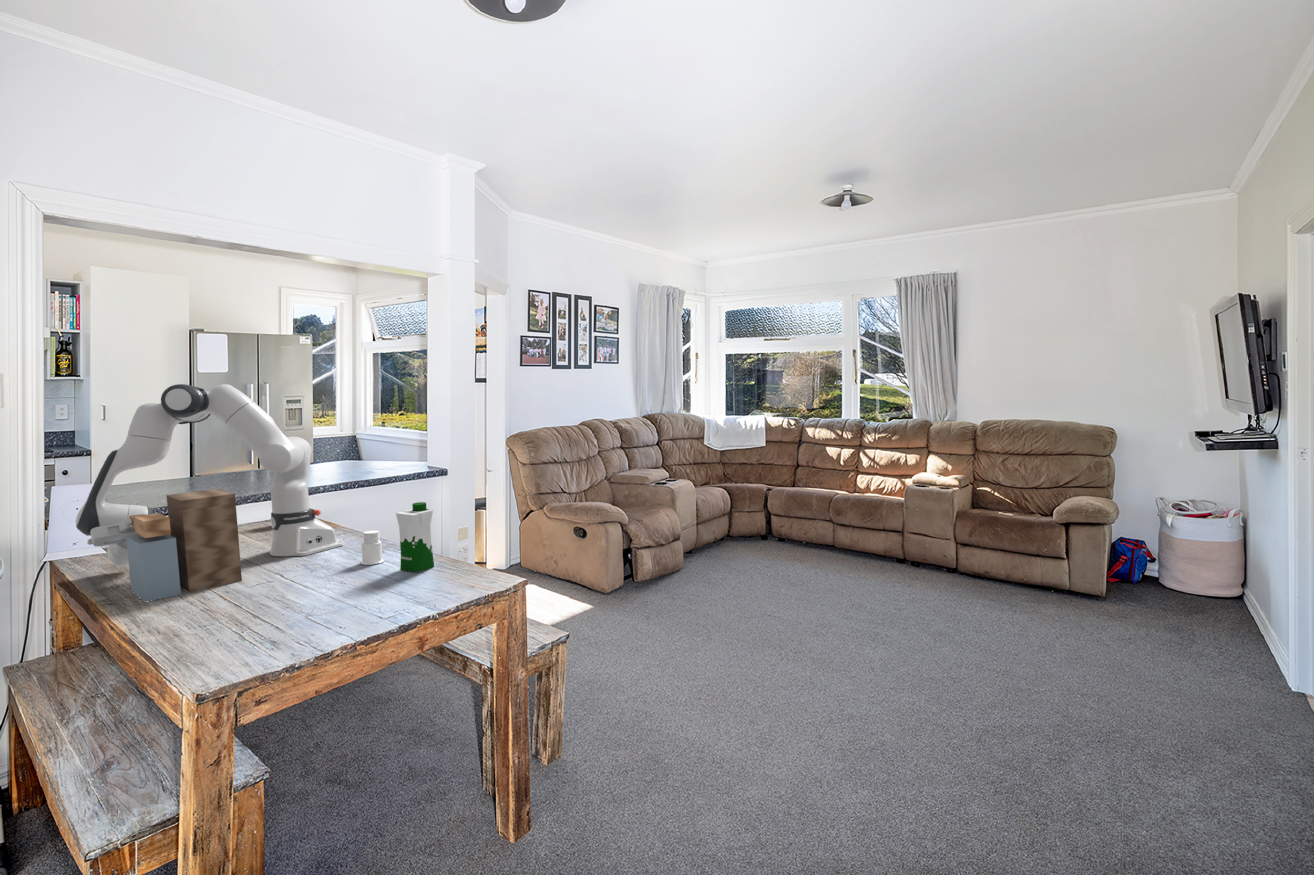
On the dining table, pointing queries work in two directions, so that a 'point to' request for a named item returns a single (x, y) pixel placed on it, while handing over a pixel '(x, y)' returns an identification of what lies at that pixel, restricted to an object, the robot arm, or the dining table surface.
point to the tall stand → (205, 538)
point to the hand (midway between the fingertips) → (140, 520)
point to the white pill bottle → (371, 548)
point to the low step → (153, 566)
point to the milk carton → (415, 538)
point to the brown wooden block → (151, 525)
